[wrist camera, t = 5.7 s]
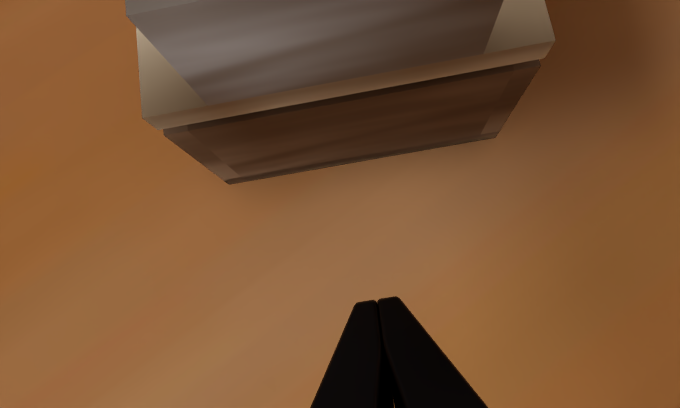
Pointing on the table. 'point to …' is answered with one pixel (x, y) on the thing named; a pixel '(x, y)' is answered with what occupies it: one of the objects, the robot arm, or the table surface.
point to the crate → (357, 125)
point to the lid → (316, 49)
